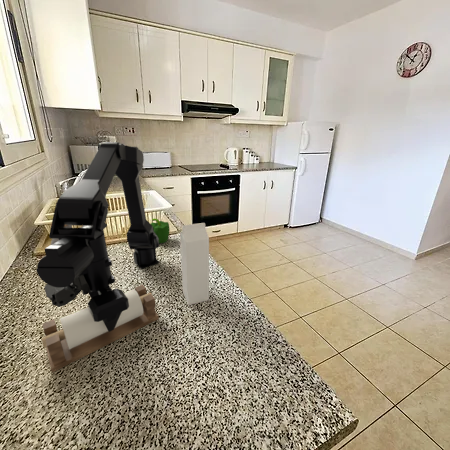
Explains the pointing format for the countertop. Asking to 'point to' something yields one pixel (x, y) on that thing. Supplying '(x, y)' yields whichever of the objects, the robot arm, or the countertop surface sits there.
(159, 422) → the countertop surface
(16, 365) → the countertop surface
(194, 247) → the milk
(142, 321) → the bracket
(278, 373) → the countertop surface
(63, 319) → the kitchen roll
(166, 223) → the bell pepper
